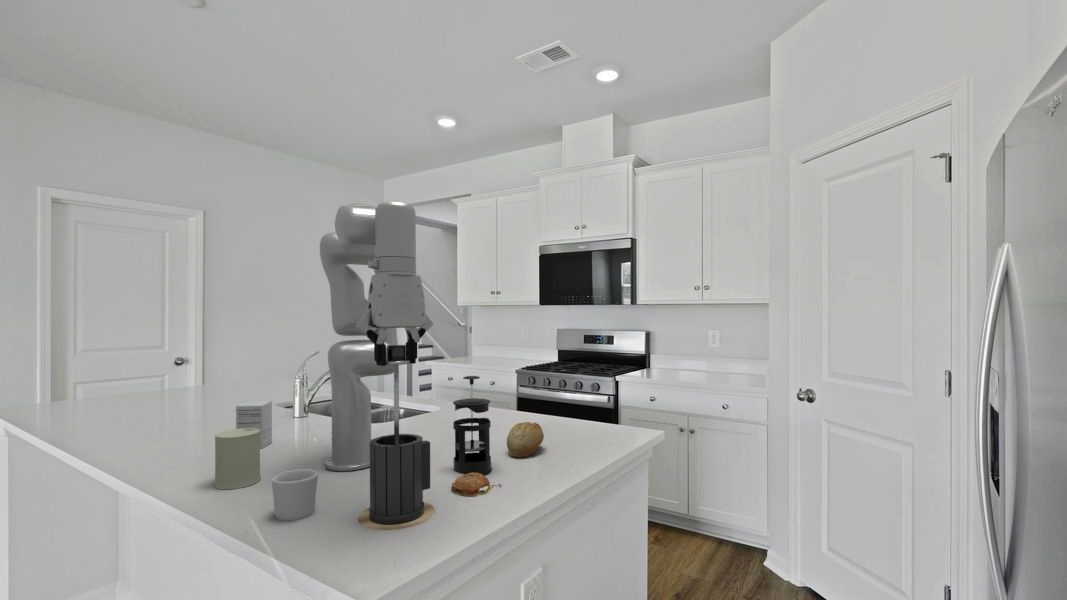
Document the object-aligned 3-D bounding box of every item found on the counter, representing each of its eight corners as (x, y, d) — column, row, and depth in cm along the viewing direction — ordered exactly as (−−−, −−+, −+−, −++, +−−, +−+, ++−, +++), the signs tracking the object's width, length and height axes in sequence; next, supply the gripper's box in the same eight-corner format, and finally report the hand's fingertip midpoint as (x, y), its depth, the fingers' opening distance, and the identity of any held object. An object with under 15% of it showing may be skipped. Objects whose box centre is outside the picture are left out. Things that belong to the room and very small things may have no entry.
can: (269, 478, 119) (269, 427, 119) (235, 491, 110) (235, 436, 110) (240, 474, 122) (240, 424, 122) (204, 487, 113) (204, 433, 113)
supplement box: (246, 443, 151) (246, 401, 152) (272, 442, 152) (272, 400, 152) (235, 450, 144) (235, 405, 144) (262, 449, 145) (262, 404, 145)
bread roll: (548, 445, 145) (547, 417, 145) (537, 460, 131) (537, 429, 131) (515, 444, 147) (515, 416, 147) (501, 458, 133) (501, 428, 133)
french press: (476, 480, 115) (475, 379, 116) (443, 475, 119) (442, 377, 120) (502, 466, 126) (501, 374, 126) (470, 461, 130) (470, 372, 130)
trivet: (346, 516, 96) (346, 512, 96) (415, 498, 104) (415, 494, 104) (374, 542, 85) (374, 537, 85) (448, 519, 93) (448, 515, 93)
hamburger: (503, 506, 101) (503, 476, 101) (436, 503, 103) (436, 473, 103) (516, 483, 115) (516, 456, 115) (457, 480, 117) (457, 454, 117)
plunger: (375, 458, 95) (374, 345, 96) (405, 453, 99) (404, 344, 100) (387, 466, 91) (387, 347, 91) (418, 459, 94) (417, 345, 95)
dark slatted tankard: (361, 512, 95) (360, 439, 96) (417, 498, 103) (417, 429, 103) (381, 530, 88) (381, 450, 88) (440, 513, 95) (440, 439, 95)
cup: (287, 505, 102) (287, 465, 102) (328, 503, 103) (328, 463, 103) (263, 527, 91) (263, 483, 91) (309, 525, 92) (309, 481, 92)
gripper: (357, 264, 87) (358, 369, 87) (445, 269, 98) (446, 362, 98) (343, 268, 93) (343, 366, 93) (427, 271, 104) (428, 359, 103)
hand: (396, 363), depth 95 cm, fingers closed on plunger, 5 cm apart
